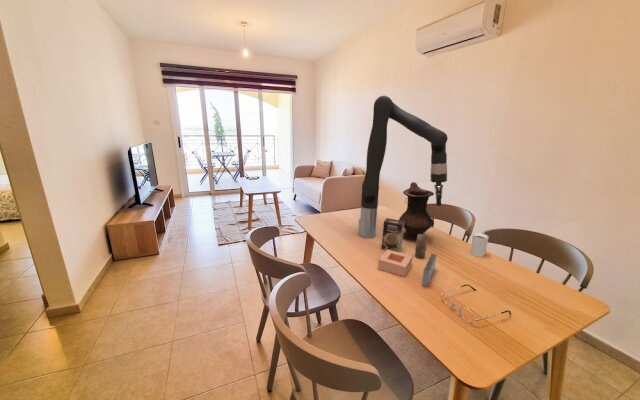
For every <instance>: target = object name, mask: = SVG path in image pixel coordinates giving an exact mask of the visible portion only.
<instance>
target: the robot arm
mask: <svg viewBox="0 0 640 400" xmlns="http://www.w3.org/2000/svg"><path fill="white" fill-rule="evenodd" d="M389 119H390V120H393V121H395V122H396V123H397V124H399V125H402V126H403V127H404V128H406V129H408V130H409V131H410V132H412V133H414V134H415V135H417V136H419V137H420V138H423V139H424V140H426V141H427V142H429V143H430V146H431V147H430V148H431V157H430V158H431V159H430V161H431V162H430V182H431V183H435V184H434V195H435V201H436V206H437V207H440V206H442V198H443V197H442V195H443V190H444V184H442V183H446V182H447V181H448V163H447V161H448V155H447V145H446V144H447V142H448V134H447V133H445V132H444V131H443V130H440V129H439V128H436V127H435V126H433V125H431V124H430V123H428V122H426V121H425V120H423V119H422V118H419V117H418V116H416V115H414V114H411V113H410V112H408V111H405V110H403V109H402V108H401V107H399V106H398V105H397V104H396V103H394V102H393V100H392V99H391V98H390V97H389V96H387V95H381V96H379V97H377V98H376V99H375V101H374V103H373V116H372V126H371V131H370V134H369V140H368V146H367V150H366V169H365V174H364V179H363V181H362V184H361V200H360V201H361V202H360V215H359V216H360V218H359V219H358V227H357V228H358V229H357V231H358V232H357V233H358V234H357V235H358V236H360V237H363V238H367V239H370V238H372V239H373V238H375V237H376V233H377V220H378V219H377V218H378V206H379V190H380V176H381V170H382V167H383V164H384V160H385V155H386V151H387V150H386V149H387V142H388V141H387V140H388V123H389Z"/></svg>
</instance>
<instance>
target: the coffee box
mask: <svg viewBox="0 0 640 400" xmlns="http://www.w3.org/2000/svg"><path fill="white" fill-rule="evenodd" d="M404 222H405V221H401V220H399V219H394V218H388V217H387V218H385V220H384V221H383V226H382V227H383V229H382V236H381V237H382V240H381V250H385V251H387V249H388V250H392V251H395V252H399V253H401V250H402V247H403V239H404V238H403V237H404V231H405V228H404Z"/></svg>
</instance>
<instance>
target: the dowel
mask: <svg viewBox="0 0 640 400" xmlns="http://www.w3.org/2000/svg"><path fill="white" fill-rule="evenodd" d="M427 242H428V235H427V234H418V235H417V240H416V244H415V252H414V257H415V258H416V259H420V260H422V259H423V260H424V259H426V251H427V244H428V243H427Z"/></svg>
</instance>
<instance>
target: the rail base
mask: <svg viewBox="0 0 640 400" xmlns="http://www.w3.org/2000/svg"><path fill="white" fill-rule="evenodd" d="M436 262H437V254H434V253H431V255H430V257H429V259H428V261H427V263H426V265H425V267H424V269H423V273H422V282H421V286H422V287H426V288H428V286H429V284H430V281H431V280H432V279H431V278H432V276H433V274H434V272H435V269H436Z"/></svg>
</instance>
